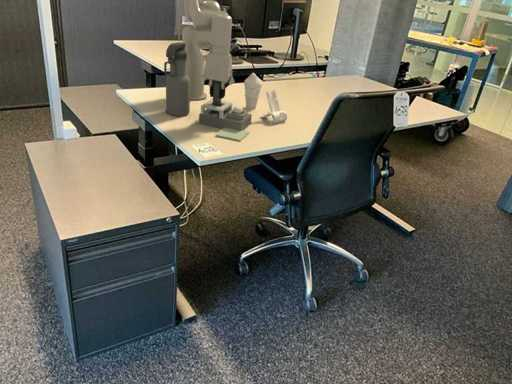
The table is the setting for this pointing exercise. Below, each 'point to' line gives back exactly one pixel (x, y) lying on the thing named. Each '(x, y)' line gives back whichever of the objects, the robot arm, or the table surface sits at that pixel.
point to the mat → (232, 134)
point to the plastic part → (275, 109)
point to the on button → (238, 110)
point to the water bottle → (177, 81)
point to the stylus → (216, 94)
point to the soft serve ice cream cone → (252, 90)
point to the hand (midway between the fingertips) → (217, 96)
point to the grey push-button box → (223, 116)
